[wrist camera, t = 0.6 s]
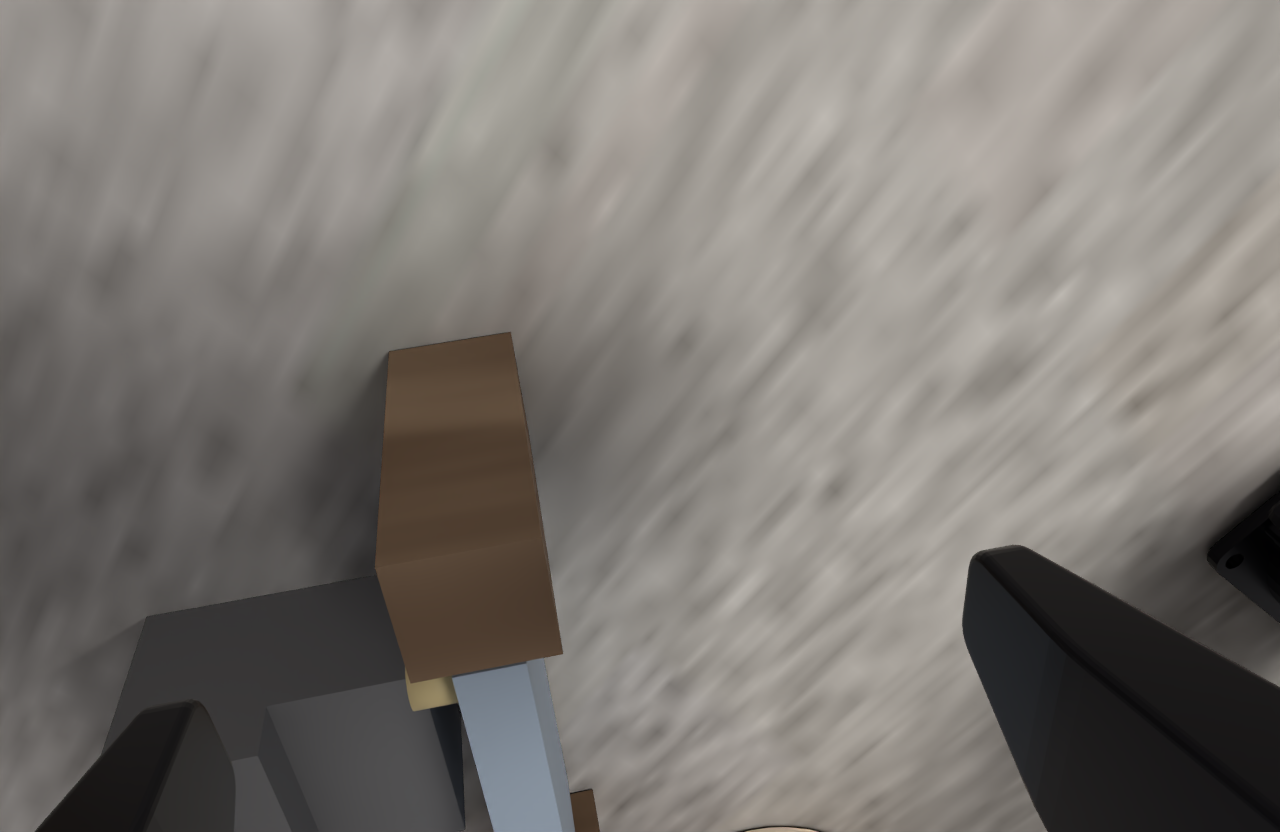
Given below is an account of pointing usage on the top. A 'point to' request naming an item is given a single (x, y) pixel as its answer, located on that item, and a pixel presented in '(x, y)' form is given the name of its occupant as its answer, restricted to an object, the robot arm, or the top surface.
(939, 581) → the top surface
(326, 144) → the top surface
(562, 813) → the door
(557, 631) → the frame
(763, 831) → the water bottle
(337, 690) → the dark grey stepped block
